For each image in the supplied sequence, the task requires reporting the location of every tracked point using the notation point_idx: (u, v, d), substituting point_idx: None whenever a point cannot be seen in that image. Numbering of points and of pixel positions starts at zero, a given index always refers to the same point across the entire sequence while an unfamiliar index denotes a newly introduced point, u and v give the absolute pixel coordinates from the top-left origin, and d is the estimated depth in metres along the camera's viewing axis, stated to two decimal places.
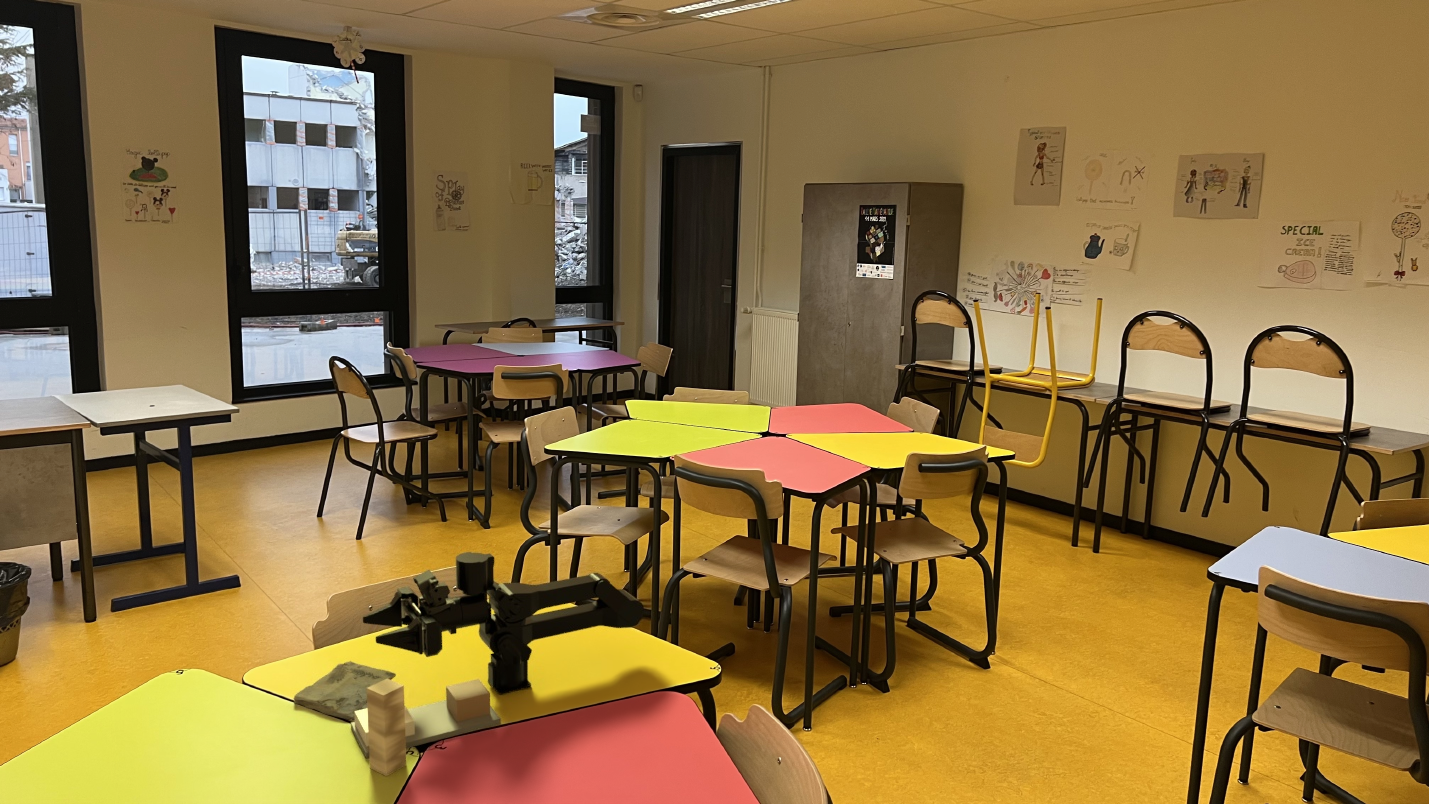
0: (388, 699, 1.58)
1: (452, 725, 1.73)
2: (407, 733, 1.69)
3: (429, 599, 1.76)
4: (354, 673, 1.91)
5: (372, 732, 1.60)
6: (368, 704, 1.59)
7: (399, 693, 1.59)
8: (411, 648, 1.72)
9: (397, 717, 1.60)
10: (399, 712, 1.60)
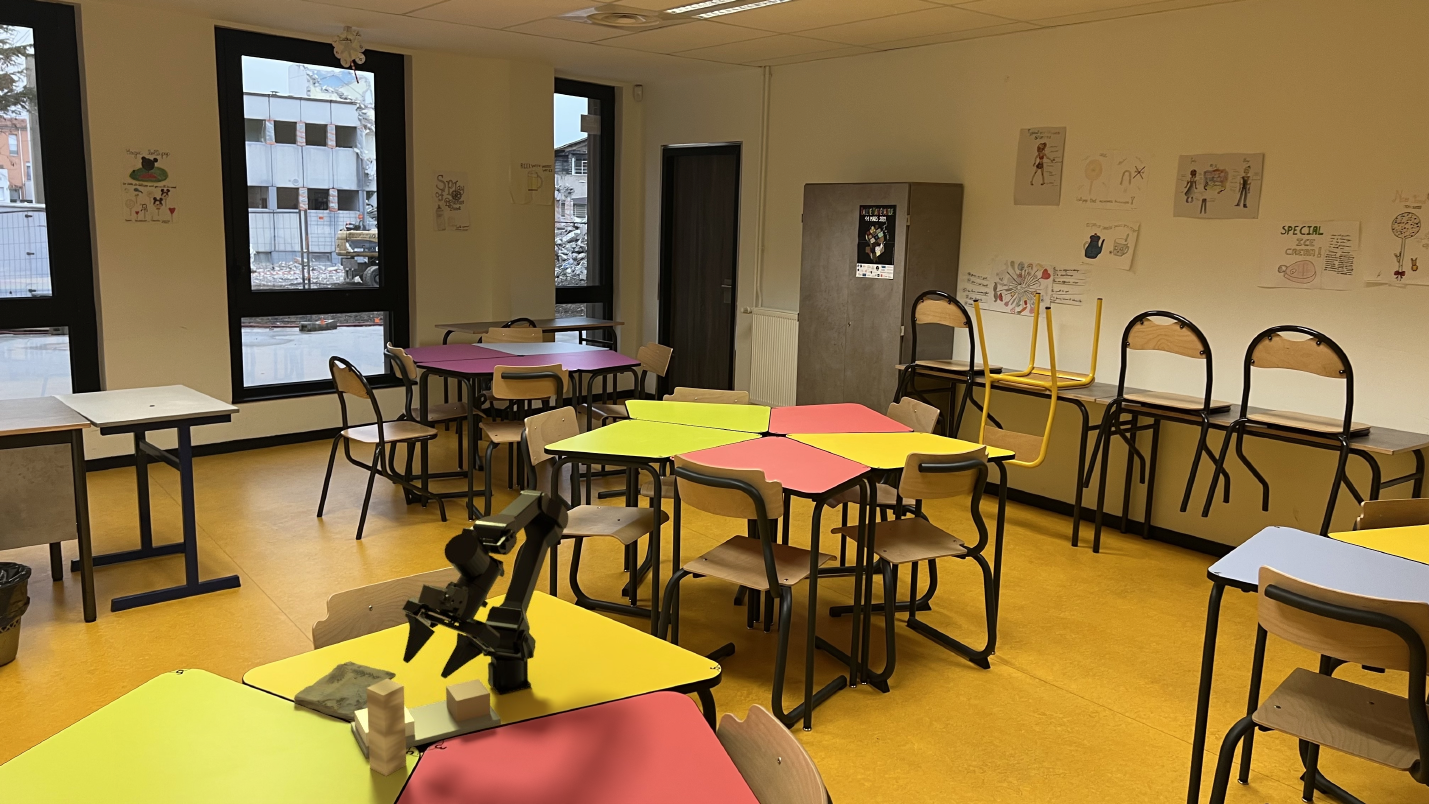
0: (388, 699, 1.58)
1: (452, 725, 1.73)
2: (407, 733, 1.69)
3: (450, 607, 1.66)
4: (354, 673, 1.91)
5: (372, 732, 1.60)
6: (368, 704, 1.59)
7: (399, 693, 1.59)
8: (474, 655, 1.66)
9: (397, 717, 1.60)
10: (399, 712, 1.60)
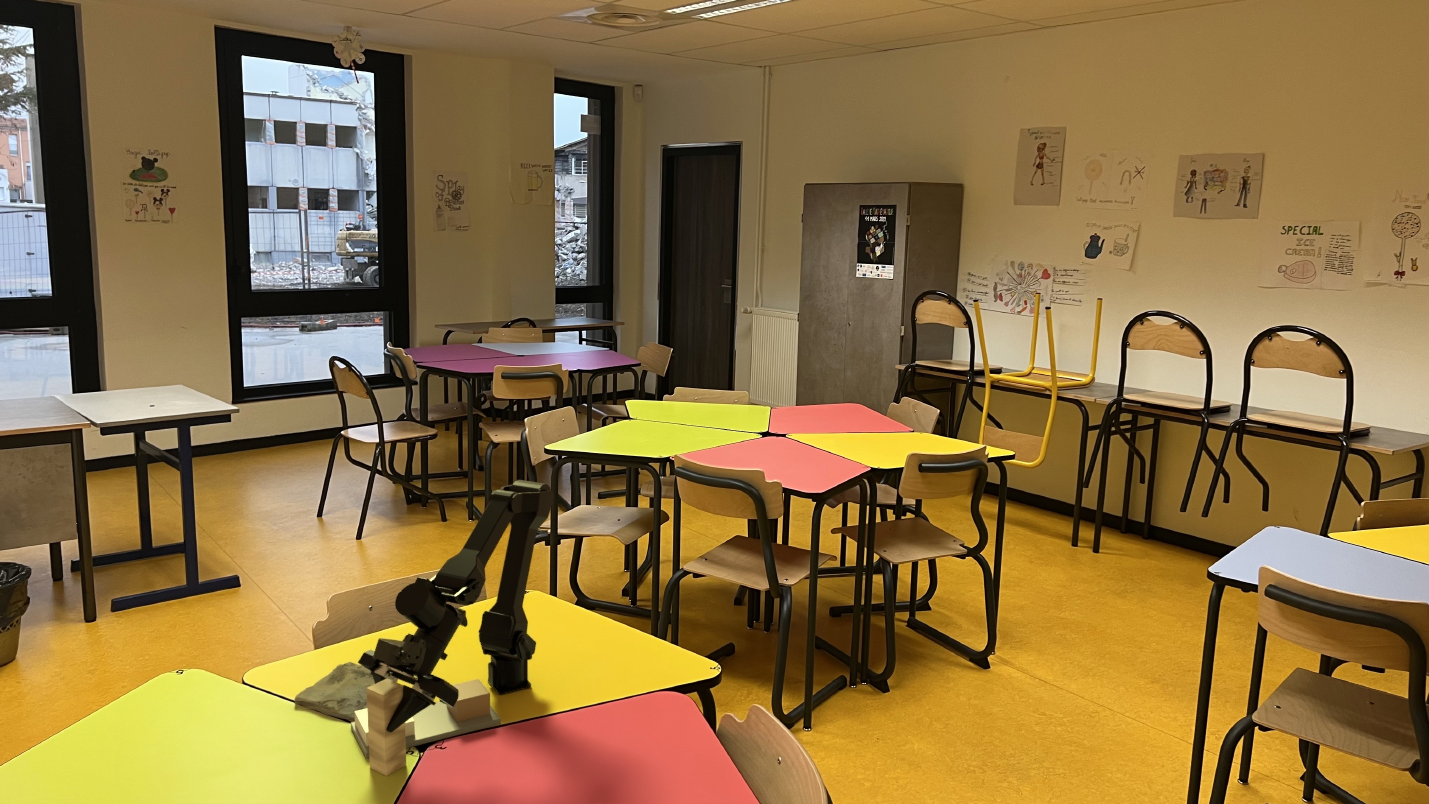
0: (388, 699, 1.58)
1: (452, 725, 1.73)
2: (407, 733, 1.69)
3: (406, 663, 1.59)
4: (354, 673, 1.91)
5: (372, 732, 1.60)
6: (368, 704, 1.59)
7: (399, 693, 1.59)
8: (422, 707, 1.61)
9: None
10: None
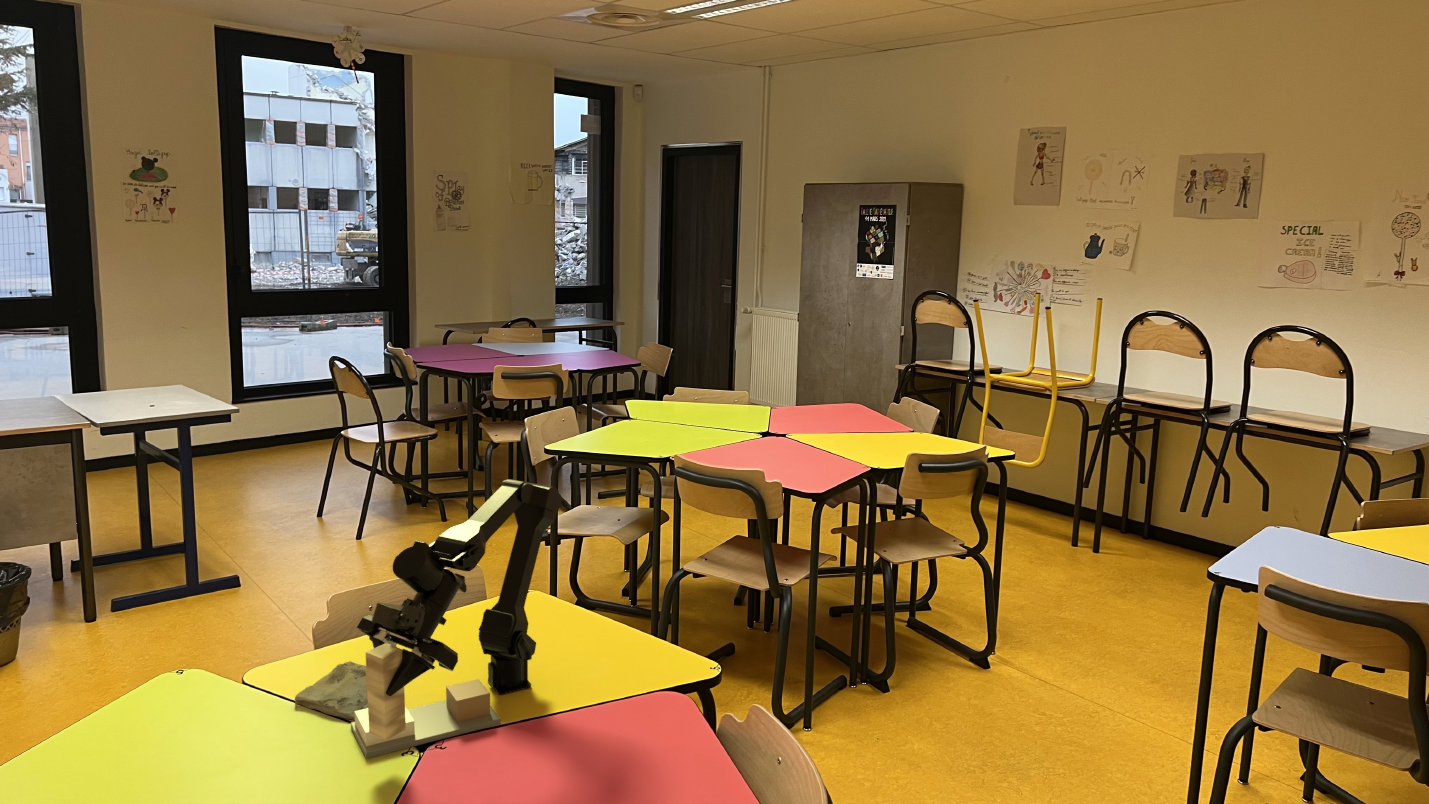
0: (387, 663, 1.57)
1: (452, 725, 1.73)
2: (407, 733, 1.69)
3: (405, 626, 1.59)
4: (355, 673, 1.91)
5: (371, 696, 1.59)
6: (367, 668, 1.59)
7: (398, 657, 1.59)
8: (421, 671, 1.61)
9: None
10: None
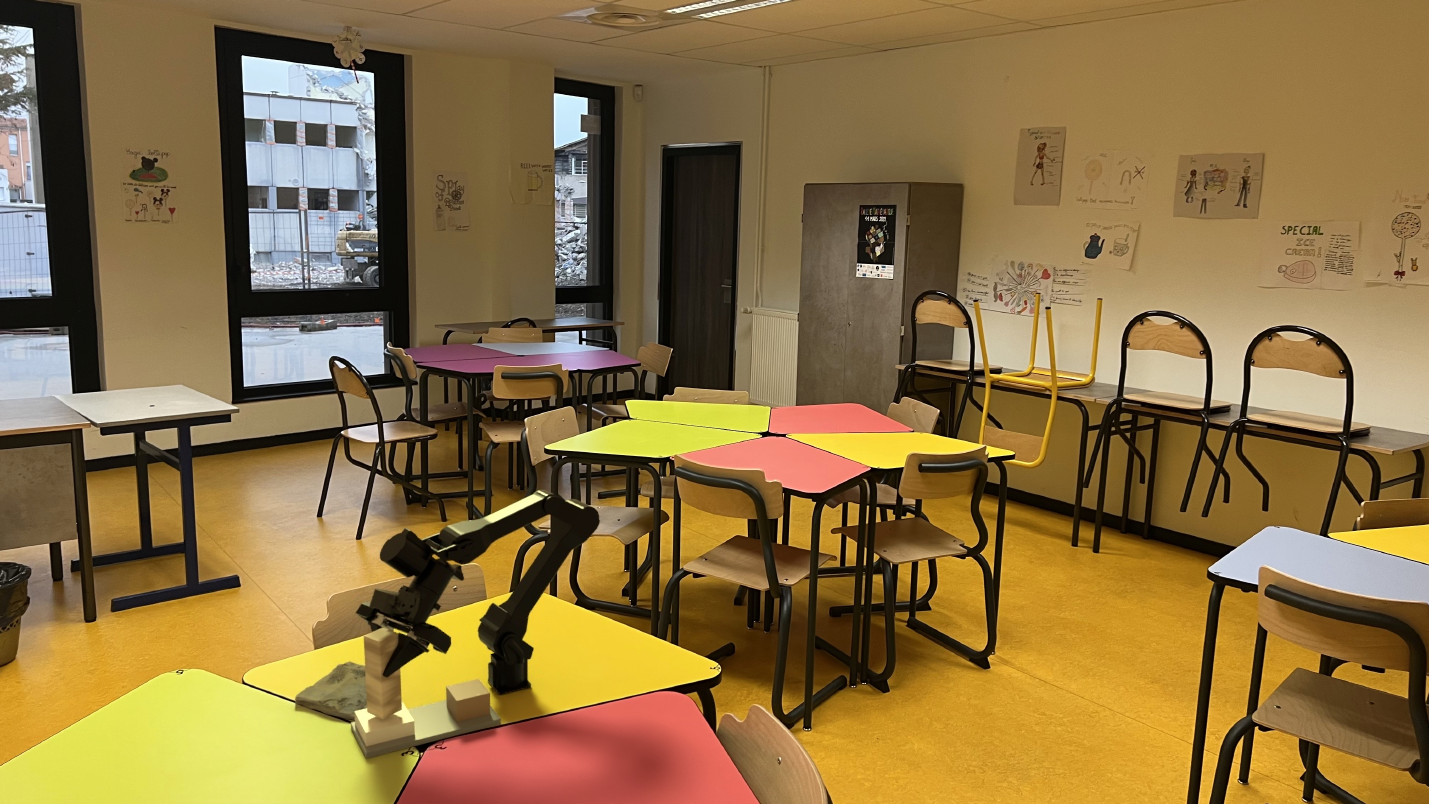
0: (384, 646, 1.66)
1: (452, 725, 1.73)
2: (407, 733, 1.69)
3: (401, 611, 1.68)
4: (355, 673, 1.91)
5: (369, 678, 1.68)
6: (365, 651, 1.67)
7: (394, 640, 1.68)
8: (416, 654, 1.70)
9: None
10: None
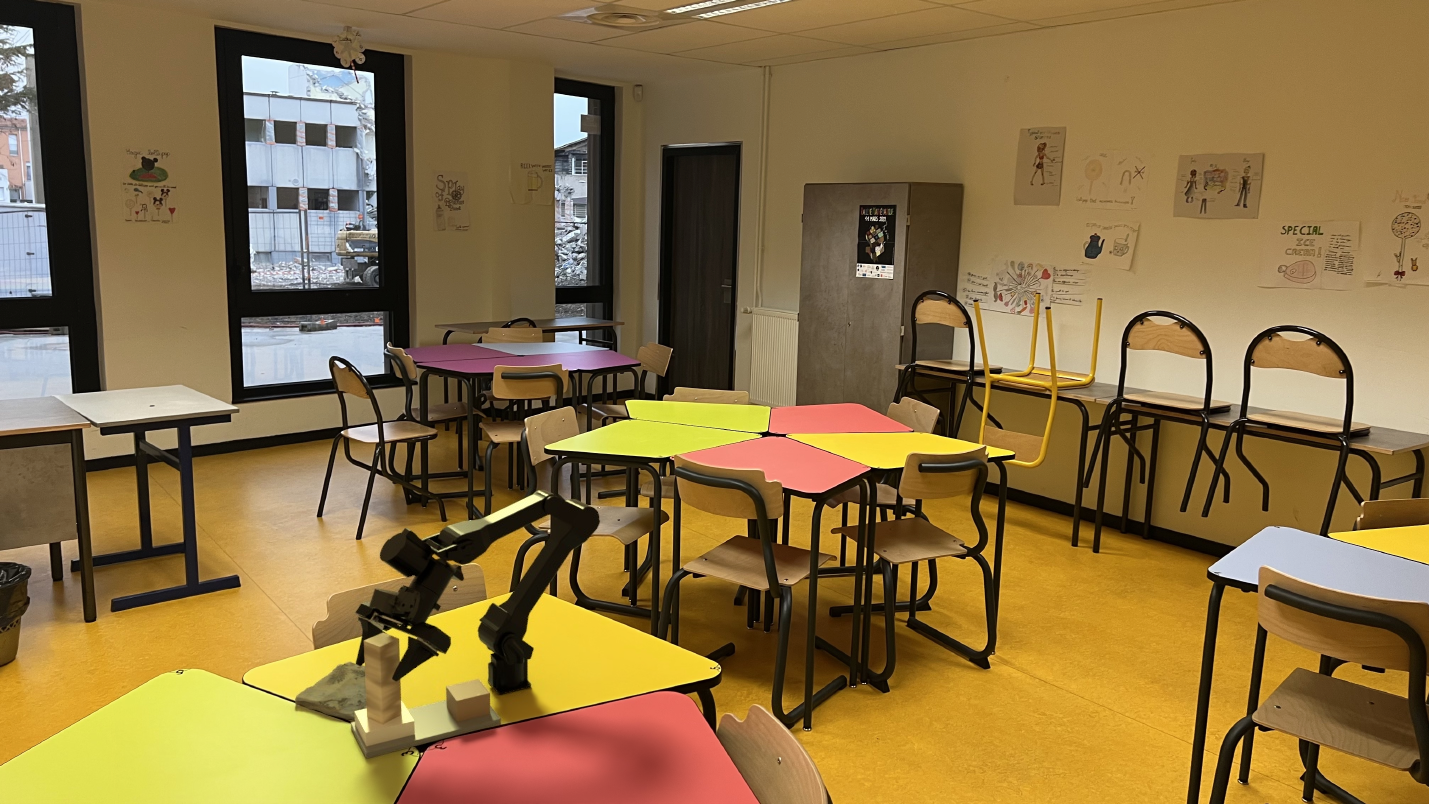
0: (384, 651, 1.66)
1: (452, 725, 1.73)
2: (407, 733, 1.69)
3: (401, 611, 1.68)
4: (355, 673, 1.90)
5: (369, 683, 1.68)
6: (365, 656, 1.68)
7: (395, 645, 1.68)
8: (426, 658, 1.68)
9: (392, 669, 1.68)
10: (395, 664, 1.68)
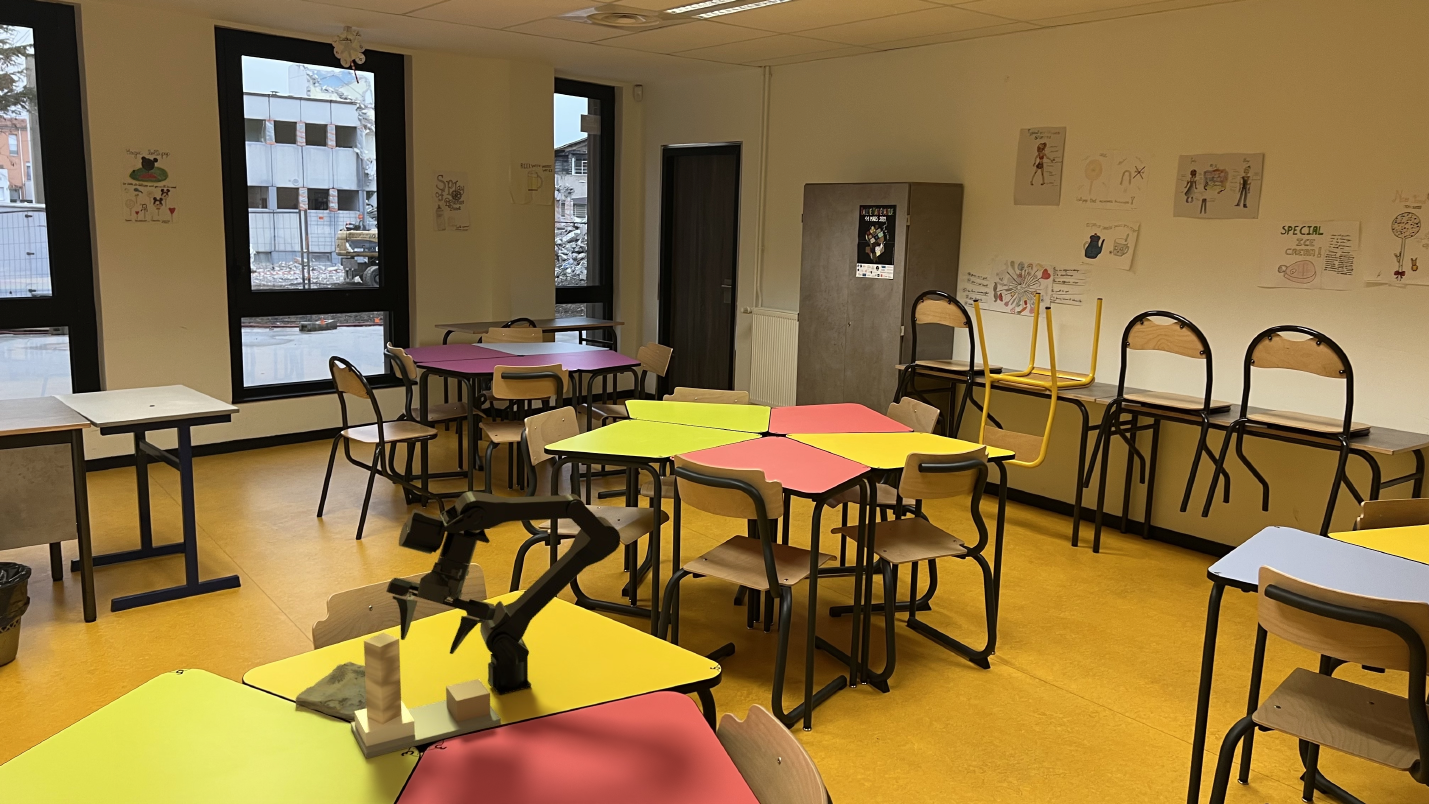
0: (384, 651, 1.66)
1: (452, 725, 1.73)
2: (407, 733, 1.69)
3: None
4: (355, 673, 1.90)
5: (369, 683, 1.68)
6: (365, 656, 1.68)
7: (395, 645, 1.68)
8: (473, 626, 1.80)
9: (392, 669, 1.68)
10: (395, 664, 1.68)
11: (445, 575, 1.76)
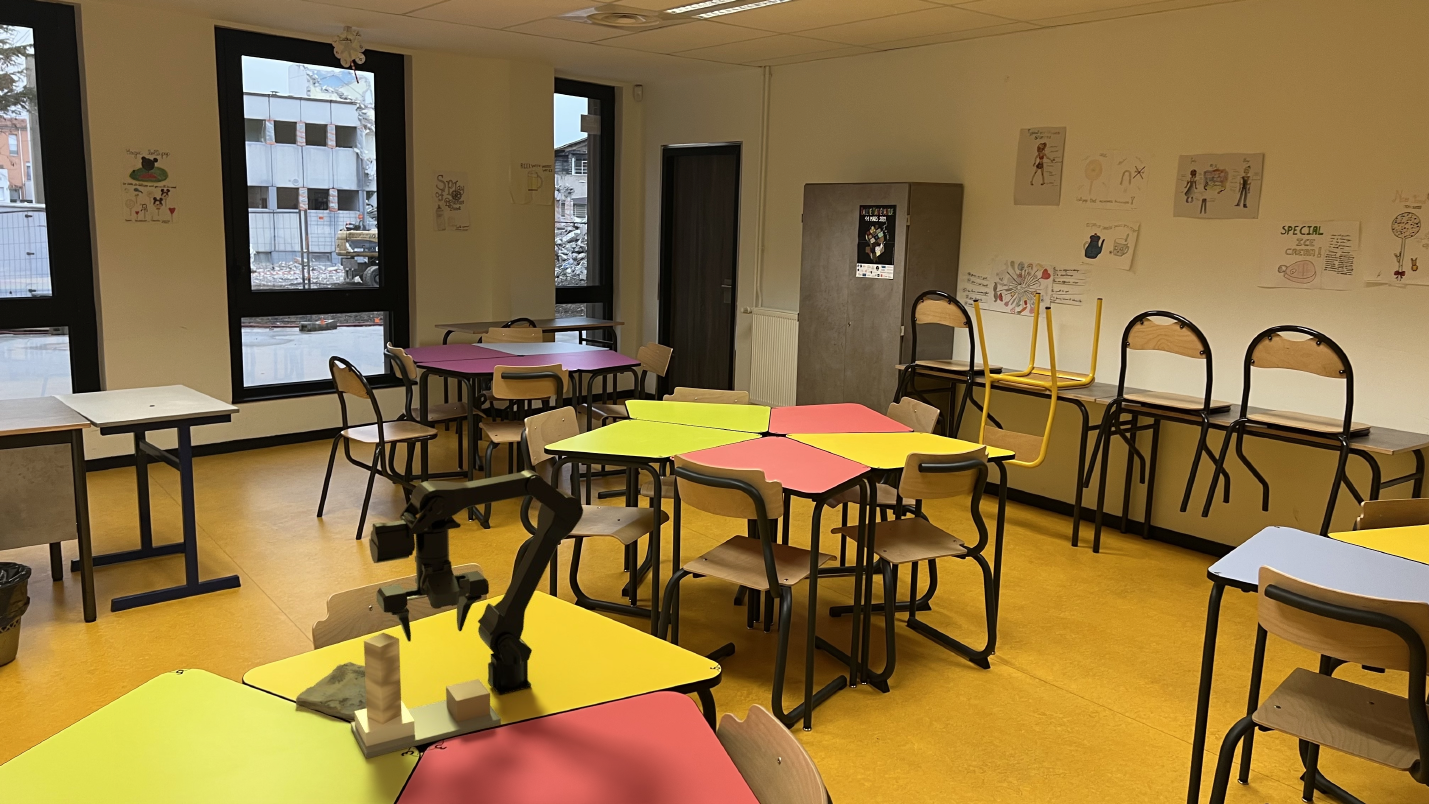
0: (384, 651, 1.66)
1: (452, 725, 1.73)
2: (407, 733, 1.69)
3: None
4: (355, 673, 1.90)
5: (369, 683, 1.68)
6: (365, 656, 1.68)
7: (395, 645, 1.68)
8: None
9: (392, 669, 1.68)
10: (395, 664, 1.68)
11: (441, 575, 1.75)
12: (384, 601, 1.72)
